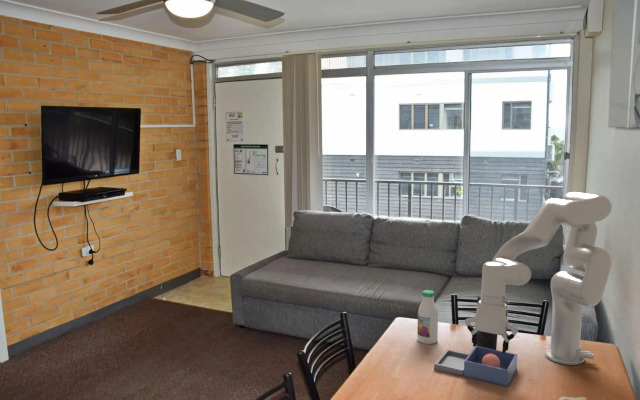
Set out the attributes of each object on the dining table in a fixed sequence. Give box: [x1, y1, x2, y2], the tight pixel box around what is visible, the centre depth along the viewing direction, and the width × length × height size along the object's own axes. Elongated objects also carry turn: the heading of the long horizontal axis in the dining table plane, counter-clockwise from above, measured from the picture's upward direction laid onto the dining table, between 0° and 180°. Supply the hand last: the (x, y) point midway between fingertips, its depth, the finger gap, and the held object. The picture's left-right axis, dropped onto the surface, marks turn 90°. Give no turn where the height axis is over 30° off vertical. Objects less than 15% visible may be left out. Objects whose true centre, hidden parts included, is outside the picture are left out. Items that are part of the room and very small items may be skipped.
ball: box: [482, 354, 500, 368], centre depth 175 cm, size 6×6×6 cm
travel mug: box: [476, 296, 498, 350], centre depth 192 cm, size 8×8×20 cm
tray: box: [433, 349, 470, 377], centre depth 181 cm, size 10×14×2 cm
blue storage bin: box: [463, 346, 518, 388], centre depth 175 cm, size 14×14×6 cm
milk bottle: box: [416, 289, 439, 345], centre depth 201 cm, size 8×8×20 cm
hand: (489, 348), depth 174 cm, fingers open, 9 cm apart
